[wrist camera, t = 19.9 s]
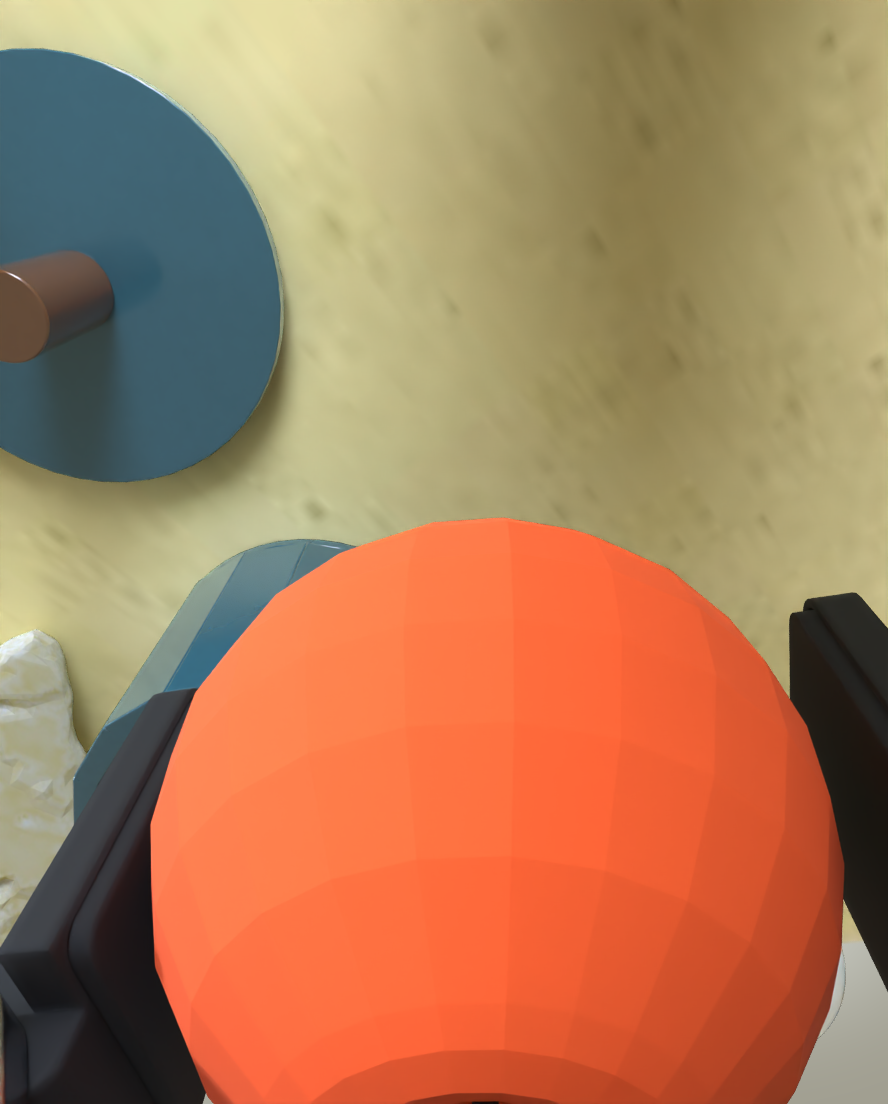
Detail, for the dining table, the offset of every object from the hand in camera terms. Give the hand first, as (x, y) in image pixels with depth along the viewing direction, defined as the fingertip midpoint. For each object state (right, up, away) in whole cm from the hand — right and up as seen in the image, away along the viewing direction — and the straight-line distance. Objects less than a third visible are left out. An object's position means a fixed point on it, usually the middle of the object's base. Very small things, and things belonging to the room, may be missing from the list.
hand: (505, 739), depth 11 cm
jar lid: (-13, +11, +16) cm, 24 cm away
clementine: (0, +1, +1) cm, 2 cm away
